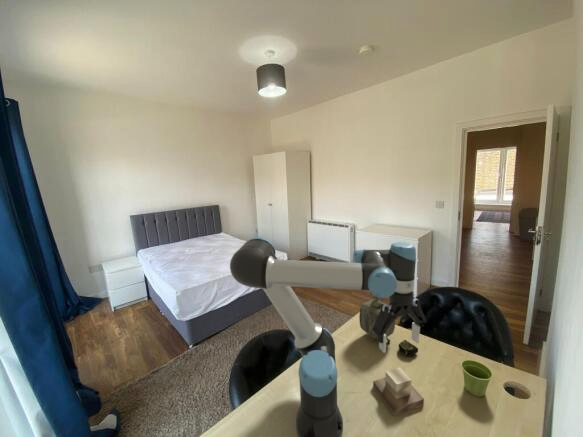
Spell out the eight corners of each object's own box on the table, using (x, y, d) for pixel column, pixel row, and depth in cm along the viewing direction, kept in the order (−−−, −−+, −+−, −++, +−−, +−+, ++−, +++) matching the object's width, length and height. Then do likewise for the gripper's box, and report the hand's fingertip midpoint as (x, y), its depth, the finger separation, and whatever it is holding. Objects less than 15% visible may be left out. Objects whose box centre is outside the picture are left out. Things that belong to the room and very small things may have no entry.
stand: (394, 415, 84) (394, 409, 83) (373, 386, 95) (373, 381, 94) (423, 404, 87) (423, 398, 86) (399, 378, 98) (399, 372, 98)
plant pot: (463, 397, 89) (465, 376, 88) (456, 376, 98) (457, 357, 96) (494, 404, 86) (497, 382, 84) (484, 382, 95) (487, 362, 93)
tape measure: (418, 354, 110) (419, 346, 110) (408, 360, 107) (408, 352, 106) (405, 345, 116) (405, 338, 116) (395, 350, 113) (395, 343, 112)
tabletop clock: (394, 343, 118) (396, 294, 113) (382, 351, 113) (383, 300, 108) (369, 328, 130) (370, 283, 125) (357, 335, 125) (357, 288, 120)
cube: (396, 399, 87) (396, 384, 86) (385, 385, 92) (385, 371, 91) (410, 394, 88) (411, 379, 87) (398, 381, 94) (399, 367, 93)
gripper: (375, 301, 76) (374, 361, 80) (440, 287, 83) (436, 343, 87) (362, 290, 83) (361, 346, 87) (423, 278, 90) (420, 331, 94)
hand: (399, 345), depth 87 cm, fingers open, 13 cm apart
